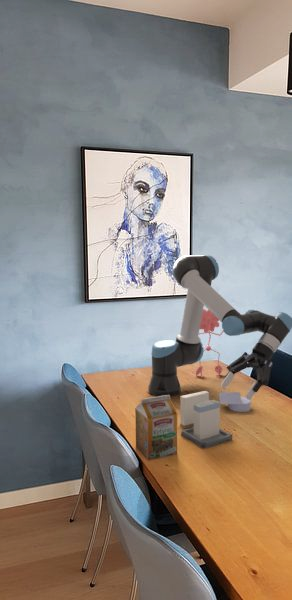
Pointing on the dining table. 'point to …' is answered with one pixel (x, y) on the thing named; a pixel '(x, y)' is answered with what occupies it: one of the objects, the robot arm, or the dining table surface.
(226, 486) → the dining table surface
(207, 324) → the figurine
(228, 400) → the wedge on round base
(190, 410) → the cream square slab
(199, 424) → the stub
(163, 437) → the milk carton
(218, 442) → the tray
